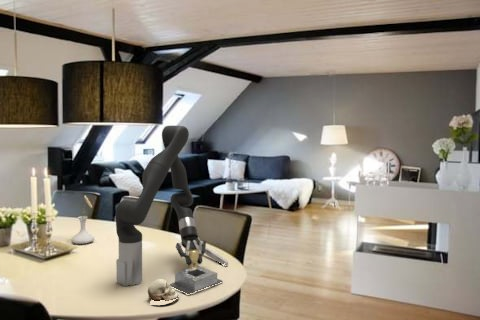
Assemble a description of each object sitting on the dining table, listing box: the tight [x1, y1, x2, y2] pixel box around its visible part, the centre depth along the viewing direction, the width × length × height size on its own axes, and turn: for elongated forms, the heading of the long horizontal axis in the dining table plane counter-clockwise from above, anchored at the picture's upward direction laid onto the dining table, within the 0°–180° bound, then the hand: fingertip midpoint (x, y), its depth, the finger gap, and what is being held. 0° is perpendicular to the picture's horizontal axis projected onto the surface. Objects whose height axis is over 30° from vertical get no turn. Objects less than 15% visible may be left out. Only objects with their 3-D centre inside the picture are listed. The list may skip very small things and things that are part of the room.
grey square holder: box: [169, 266, 223, 294], centre depth 163 cm, size 18×12×5 cm, turn 137°
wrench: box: [198, 236, 229, 266], centre depth 196 cm, size 8×2×30 cm
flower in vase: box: [71, 195, 95, 245], centre depth 217 cm, size 13×11×25 cm
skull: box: [147, 278, 180, 304], centre depth 149 cm, size 12×10×10 cm
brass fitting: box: [187, 249, 200, 269], centre depth 176 cm, size 4×4×10 cm
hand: (194, 263), depth 174 cm, fingers closed on brass fitting, 4 cm apart
